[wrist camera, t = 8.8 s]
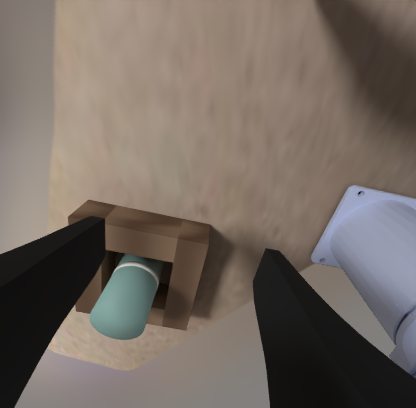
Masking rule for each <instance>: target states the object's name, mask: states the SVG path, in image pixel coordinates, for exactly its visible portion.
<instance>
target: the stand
mask: <svg viewBox="0 0 416 408" xmlns="http://www.w3.org/2000/svg"><path fill="white" fill-rule="evenodd" d="M89 216H95V217H100V218H105V239H106V256H105V258H104V260H103V261H102V263H101V265H100V267H99V269H98V271H97V273H96V275H95V276H94V278H93V279H92V281H91V282H90V284H89V285H88V287H87V288H86V289H85V291H84V292H83V294H82V295H81V297H80V298H79V299H78V301H77V302H76V304H75V305H76V311H77V312H83V313H89V314H90V313H91V311H92V309H93V308H94V306H95V304H96V303H97V301H98V299H99V297H100V296H101V294H102V292H103V290H104V289H105V287H106V285H107V283H108V282H109V280H110V278H111V276H112V274H113V272H114V271H115V252H120V253H126V254H131V255H136V256H141V257H146V258H152V259H157V260H162V261H167V262H172V263H173V267H172V273H171V278H170V284H169V285H165V284H160V283H159V285H158V288H157V291H156V293H155V296H154V300H153V303H152V306H151V309H150V312H149V316H148V319H147V322H146V324H152V325H157V326H163V327H169V328H175V329H180V330H186V329H187V325H188V321H189V317H190V314H191V310H192V306H193V303H194V299H195V295H196V291H197V288H198V284H199V280H200V276H201V273H202V269H203V265H204V262H205V258H206V254H207V250H208V247H209V236H210V225H209V224H204V223H199V222H194V221H190V220H185V219H180V218H175V217H170V216H165V215H160V214H155V213H150V212H146V211H141V210H136V209H131V208H126V207H121V206H116V205H111V204H106V203H101V202H97V201H92V200H88V201H86V202H85V203H84V204H83V205H82V206H80V207H79V208H78V209H77V210H76V211H74V212H73V213H72V214H71V215H70V216H68V223H69V225H71V224H73V223H75V222H77V221H80V220H82V219H84V218H87V217H89Z"/></svg>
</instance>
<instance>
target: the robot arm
mask: <svg viewBox="0 0 416 408" xmlns="http://www.w3.org/2000/svg"><path fill="white" fill-rule="evenodd" d="M360 191H362V192H361V194H359V195H358V193H359V192H360ZM105 256H106V239H105V218H100V217H95V216H89V217H87V218H84V219H82V220H80V221H77V222H75V223H73V224H71V225H69V226H66V227H64V228H62V229H60V230H58V231H55V232H53V233H51V234H49V235H47V236H44V237H42V238H40V239H37V240H35V241H32V242H30V243H28V244H25V245H23V246H20V247H18V248H15V249H13V250H11V251H8V252H5V253H3V254H0V408H14V407H15V405H16V403H17V401H18V399H19V397H20V396H21V394H22V392H23V390H24V388H25V386H26V384H27V383H28V381H29V379H30V377H31V375H32V373H33V372H34V370H35V368H36V366H37V364H38V362H39V361H40V359H41V357H42V355H43V354H44V352H45V350H46V349H47V347H48V345H49V343H50V342H51V340H52V338H53V336H54V335H55V333H56V332H57V330H58V328H59V327H60V325H61V324H62V322H63V321H64V319H65V318H66V317H67V315H68V314H69V312H70V311H71V309H72V308H73V307H74V305H75V304H76V302H77V301H78V299H79V298H80V297H81V295H82V294H83V292H84V291H85V289H86V288H87V287H88V285H89V284H90V282H91V281H92V279H93V278H94V276H95V275H96V273H97V271H98V269H99V267H100V265H101V263H102V261H103V260H104V258H105ZM322 258H323V259H322ZM320 259H322V260H320ZM311 260H312V262H314V263H317V264H322V265H327V266H332V267H337V268H342V269H343V270H344V272H345V273H346V275H347V276H348V278H349V279H350V280H351V282H352V283H353V285H354V286H355V288H356V289H357V290H358V292H359V293H360V295H361V296H362V298H363V299H364V301H365V302H366V303H367V305H368V306H369V308H370V309H371V311H372V312H373V313H374V315H375V316H376V318H377V319H378V321H379V322H380V324H381V325H382V326H383V328H384V329H385V331H386V332H387V333H388V335H389V336H390V338H391V339H392V341H393V342H394V343H395V345H396V347H395V349H394V351H393V352H392V353H391V354H390V355H389V356H390V358H391V359H392V360H391V359H389V358H388V357H387V356H386V355H384V354H383V353H382V352H381V351H379V350H378V349H377V348H376V347H374V346H373V345H372V344H371V343H369V342H368V341H367V340H366V339H365V338H364V337H362V336H361V335H360V334H359V333H358V332H357V331H356V330H355V329H353V328H352V327H351V326H350V325H349V324H348V323H347V322H346V321H344V319H342V318H341V317H340V316H339V315H338V314H337V313H336V312H335V311H334V310H333V309H332V308H331V307H330V306H329V305H328V304H327V303H326V302H325V301H324V300H323V299H322V298H321V297H320V296H319V295H318V294H317V293H316V292H315V290H314V289H312V287H311V286H310V285H309V284H308V283H307V282H306V281H305V279H304V278H303V277H302V276H301V275H300V274H299V273H298V271H297V270H296V269H295V268H294V267H293V266H292V265H291V263H290V262H289V261H288V260H287V259H286V258H285V257H284V255H283V254H282V253H281V252H280V251H278V250H272V249H267V248H266V249H265V252H264V254H263V257H262V259H261V262H260V264H259V267H258V270H257V272H256V275H255V277H254V280H253V292H254V304H255V309H256V315H257V320H258V325H259V330H260V335H261V341H262V345H263V351H264V356H265V363H266V369H267V380H268V389H269V400H270V408H416V199H415V198H411V197H406V196H402V195H398V194H393V193H389V192H384V191H380V190H375V189H371V188H366V187H362V186H357V185H352V186H350V187H349V188H348V189H347V191H346V192H345V194H344V196H343V198H342V200H341V202H340V203H339V205H338V207H337V209H336V211H335V213H334V214H333V216H332V218H331V220H330V222H329V224H328V226H327V227H326V229H325V231H324V233H323V235H322V237H321V238H320V240H319V242H318V244H317V246H316V248H315V249H314V251H313V253H312V255H311Z"/></svg>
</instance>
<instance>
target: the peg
mask: <svg viewBox="0 0 416 408" xmlns="http://www.w3.org/2000/svg"><path fill="white" fill-rule="evenodd" d="M164 265H165V261H162V260H157V259H152V258H146V257H141V256H136V255H131V254H126V253H125V254H124V256H123V257H122V259H121V261H120V263H119V264H118V266H117V267H116V269H115V271H114V272H113V274H112V276H111V278H110V280H109V282H108V283H107V285H106V287H105V289H104V290H103V292H102V294H101V296H100V297H99V299H98V301H97V303H96V304H95V306H94V308H93V309H92V311H91V313H90V322H91V324H92V326H93V327H94V328H95V329H96V330H97V331H98V332H100V333H101V334H103V335H105V336H108V337H110V338H114V339H120V340H128V339H133V338H136V337H138V336H140V335H141V334H142V333H143V331H144V328H145V325H146V322H147V319H148V316H149V312H150V309H151V306H152V303H153V300H154V296H155V293H156V291H157V288H158V285H159V281H160V277H161V274H162V271H163V268H164Z"/></svg>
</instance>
